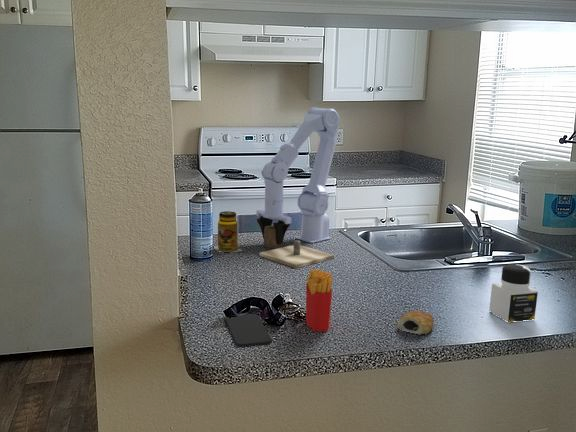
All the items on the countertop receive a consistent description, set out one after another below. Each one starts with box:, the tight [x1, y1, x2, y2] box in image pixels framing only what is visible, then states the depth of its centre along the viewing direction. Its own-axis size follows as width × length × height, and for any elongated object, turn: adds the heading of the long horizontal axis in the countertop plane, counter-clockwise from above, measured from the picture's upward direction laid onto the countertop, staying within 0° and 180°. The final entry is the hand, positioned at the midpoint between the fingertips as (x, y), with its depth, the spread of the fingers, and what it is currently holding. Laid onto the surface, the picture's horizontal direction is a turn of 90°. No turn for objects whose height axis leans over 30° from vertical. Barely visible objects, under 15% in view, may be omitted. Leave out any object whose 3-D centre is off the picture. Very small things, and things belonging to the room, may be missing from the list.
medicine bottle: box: [488, 263, 539, 322], centre depth 129 cm, size 7×7×12 cm
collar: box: [263, 225, 283, 249], centre depth 184 cm, size 6×6×6 cm
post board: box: [258, 239, 335, 269], centre depth 172 cm, size 16×16×5 cm
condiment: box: [213, 210, 244, 254], centre depth 178 cm, size 7×8×12 cm
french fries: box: [305, 268, 334, 332], centre depth 121 cm, size 8×4×12 cm, turn 21°
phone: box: [224, 313, 273, 348], centre depth 119 cm, size 7×1×15 cm
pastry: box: [396, 310, 434, 336], centre depth 123 cm, size 9×7×4 cm
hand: (272, 241), depth 184 cm, fingers closed on collar, 6 cm apart
